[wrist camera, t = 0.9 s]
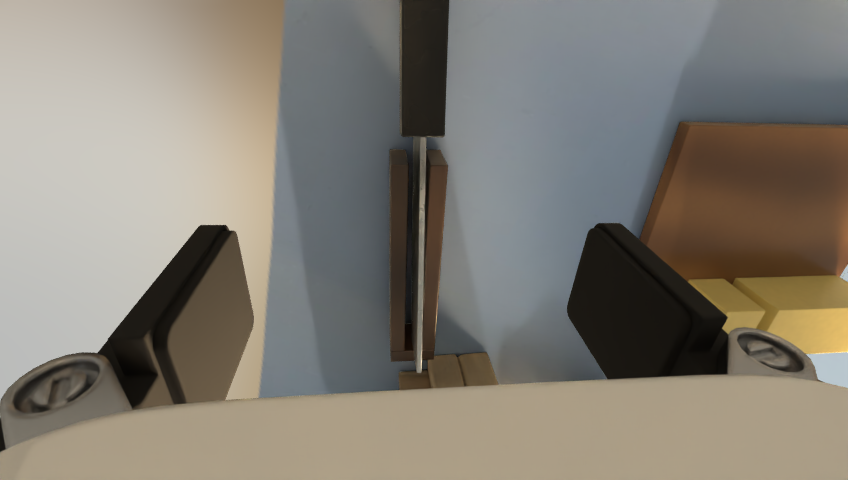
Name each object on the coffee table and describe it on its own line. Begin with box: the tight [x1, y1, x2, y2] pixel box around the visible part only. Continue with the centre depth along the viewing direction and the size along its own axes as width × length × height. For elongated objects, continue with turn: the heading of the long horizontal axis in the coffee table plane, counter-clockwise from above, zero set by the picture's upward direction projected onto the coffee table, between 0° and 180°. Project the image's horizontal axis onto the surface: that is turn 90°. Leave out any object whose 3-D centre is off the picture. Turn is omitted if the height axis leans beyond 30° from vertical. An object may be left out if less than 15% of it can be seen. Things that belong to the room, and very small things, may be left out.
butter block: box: [732, 275, 848, 354], centre depth 32 cm, size 4×9×4 cm, turn 88°
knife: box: [400, 0, 449, 373], centre depth 23 cm, size 24×2×4 cm, turn 178°
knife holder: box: [389, 149, 448, 362], centre depth 27 cm, size 15×3×3 cm, turn 178°
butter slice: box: [688, 279, 765, 334], centre depth 31 cm, size 4×3×4 cm, turn 178°
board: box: [639, 122, 848, 285], centre depth 31 cm, size 20×18×1 cm
